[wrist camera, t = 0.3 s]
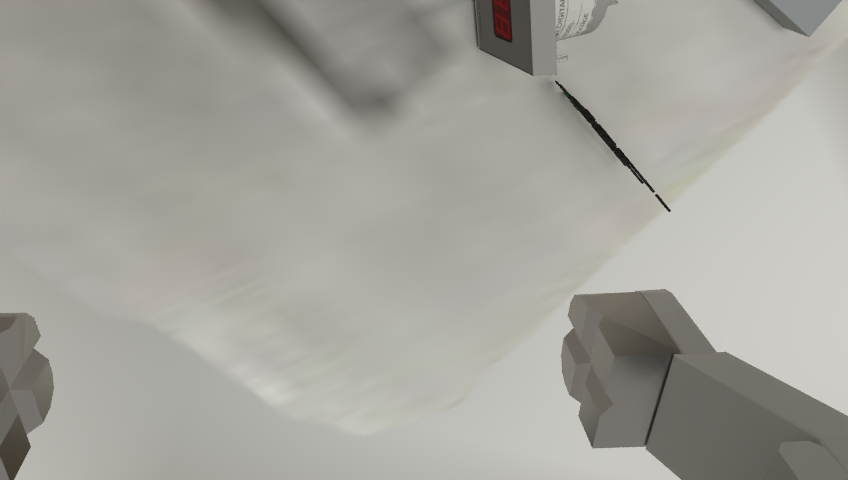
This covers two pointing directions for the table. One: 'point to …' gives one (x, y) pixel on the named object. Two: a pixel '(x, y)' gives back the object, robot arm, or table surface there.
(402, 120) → the table surface
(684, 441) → the robot arm
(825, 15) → the slate socket
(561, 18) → the voltmeter
